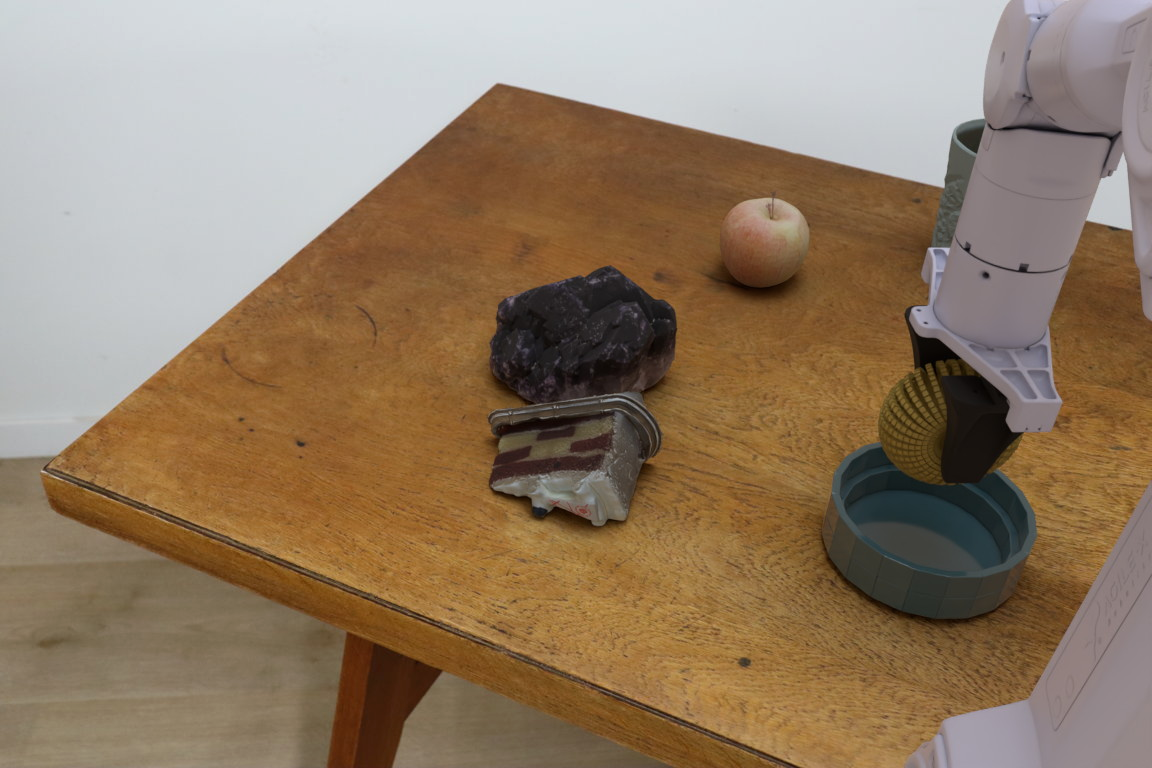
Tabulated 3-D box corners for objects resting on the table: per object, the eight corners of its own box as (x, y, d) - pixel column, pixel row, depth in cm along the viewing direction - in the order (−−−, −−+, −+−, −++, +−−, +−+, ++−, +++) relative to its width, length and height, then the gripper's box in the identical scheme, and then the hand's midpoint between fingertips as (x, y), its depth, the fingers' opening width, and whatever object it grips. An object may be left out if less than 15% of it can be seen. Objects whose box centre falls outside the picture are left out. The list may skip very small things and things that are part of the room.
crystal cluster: (487, 325, 88) (476, 219, 81) (656, 309, 89) (658, 203, 82) (496, 443, 78) (483, 334, 71) (686, 425, 79) (691, 315, 72)
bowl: (1048, 623, 65) (1070, 575, 62) (847, 626, 64) (861, 578, 61) (977, 484, 74) (993, 438, 72) (801, 485, 73) (812, 439, 71)
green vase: (924, 291, 94) (960, 160, 87) (913, 233, 102) (946, 110, 95) (1047, 306, 93) (1094, 175, 86) (1027, 246, 101) (1068, 123, 94)
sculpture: (993, 458, 67) (1032, 349, 62) (1010, 504, 63) (1053, 393, 59) (860, 449, 67) (889, 339, 62) (870, 494, 64) (902, 382, 59)
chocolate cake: (446, 504, 71) (570, 453, 63) (477, 416, 75) (596, 357, 67) (555, 572, 75) (683, 533, 67) (578, 485, 79) (702, 438, 71)
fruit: (722, 249, 98) (734, 166, 93) (805, 264, 96) (822, 181, 92) (706, 293, 92) (718, 207, 87) (795, 309, 91) (812, 223, 86)
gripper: (893, 176, 61) (846, 374, 69) (986, 324, 50) (916, 540, 58) (1017, 178, 62) (955, 374, 70) (1137, 325, 50) (1047, 539, 58)
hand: (945, 449), depth 64 cm, fingers closed on sculpture, 4 cm apart
